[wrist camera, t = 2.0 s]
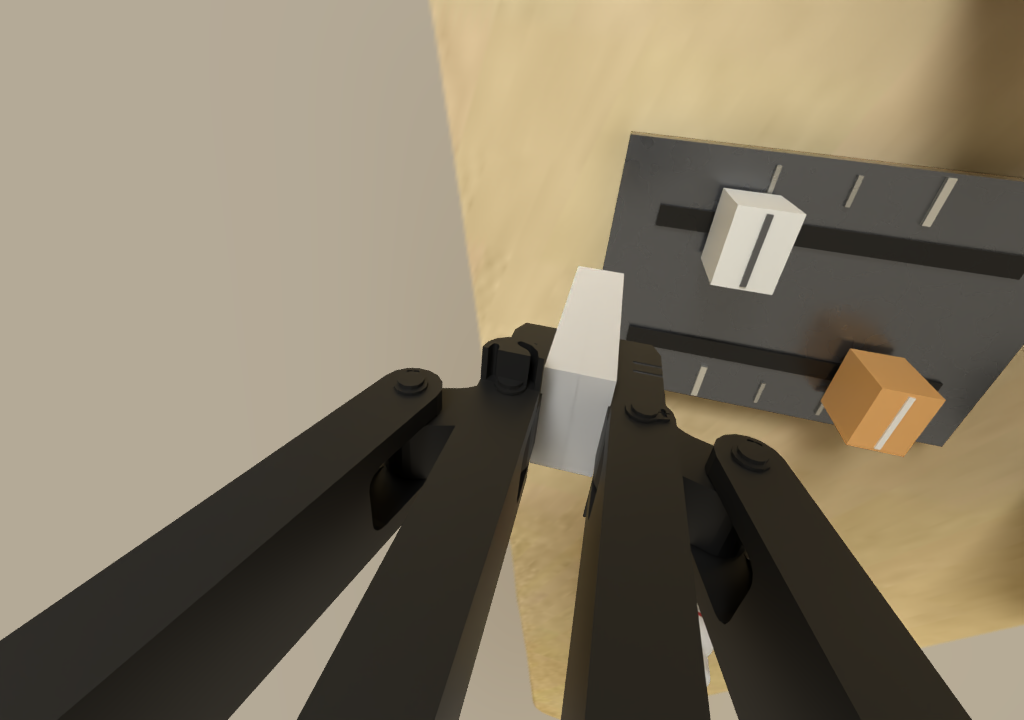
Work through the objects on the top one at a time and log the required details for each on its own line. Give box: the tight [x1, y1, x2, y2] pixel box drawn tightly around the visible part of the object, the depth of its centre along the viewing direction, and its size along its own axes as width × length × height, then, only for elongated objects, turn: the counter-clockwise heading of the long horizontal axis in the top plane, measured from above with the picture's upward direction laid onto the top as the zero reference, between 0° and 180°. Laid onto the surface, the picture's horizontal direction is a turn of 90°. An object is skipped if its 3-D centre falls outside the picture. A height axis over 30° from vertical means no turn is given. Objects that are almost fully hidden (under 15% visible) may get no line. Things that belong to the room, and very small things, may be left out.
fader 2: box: [821, 348, 946, 457], centre depth 26 cm, size 4×3×4 cm
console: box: [603, 131, 1024, 447], centre depth 28 cm, size 16×24×2 cm, turn 84°
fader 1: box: [701, 188, 806, 295], centre depth 24 cm, size 4×3×4 cm
